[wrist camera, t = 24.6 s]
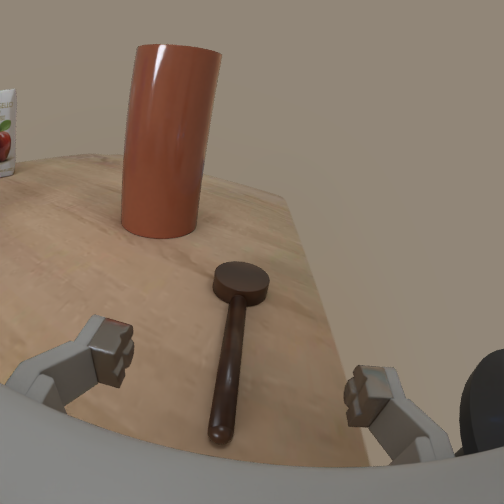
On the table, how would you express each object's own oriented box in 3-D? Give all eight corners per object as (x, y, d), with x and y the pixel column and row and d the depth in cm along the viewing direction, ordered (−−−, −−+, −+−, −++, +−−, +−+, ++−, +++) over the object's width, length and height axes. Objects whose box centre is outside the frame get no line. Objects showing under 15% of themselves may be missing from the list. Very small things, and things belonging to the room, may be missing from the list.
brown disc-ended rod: (262, 453, 18) (268, 441, 17) (173, 439, 17) (173, 426, 16) (266, 280, 36) (269, 266, 36) (216, 271, 36) (218, 257, 35)
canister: (203, 214, 50) (227, 59, 39) (186, 244, 40) (214, 47, 30) (137, 203, 50) (153, 53, 39) (108, 230, 40) (123, 44, 29)
